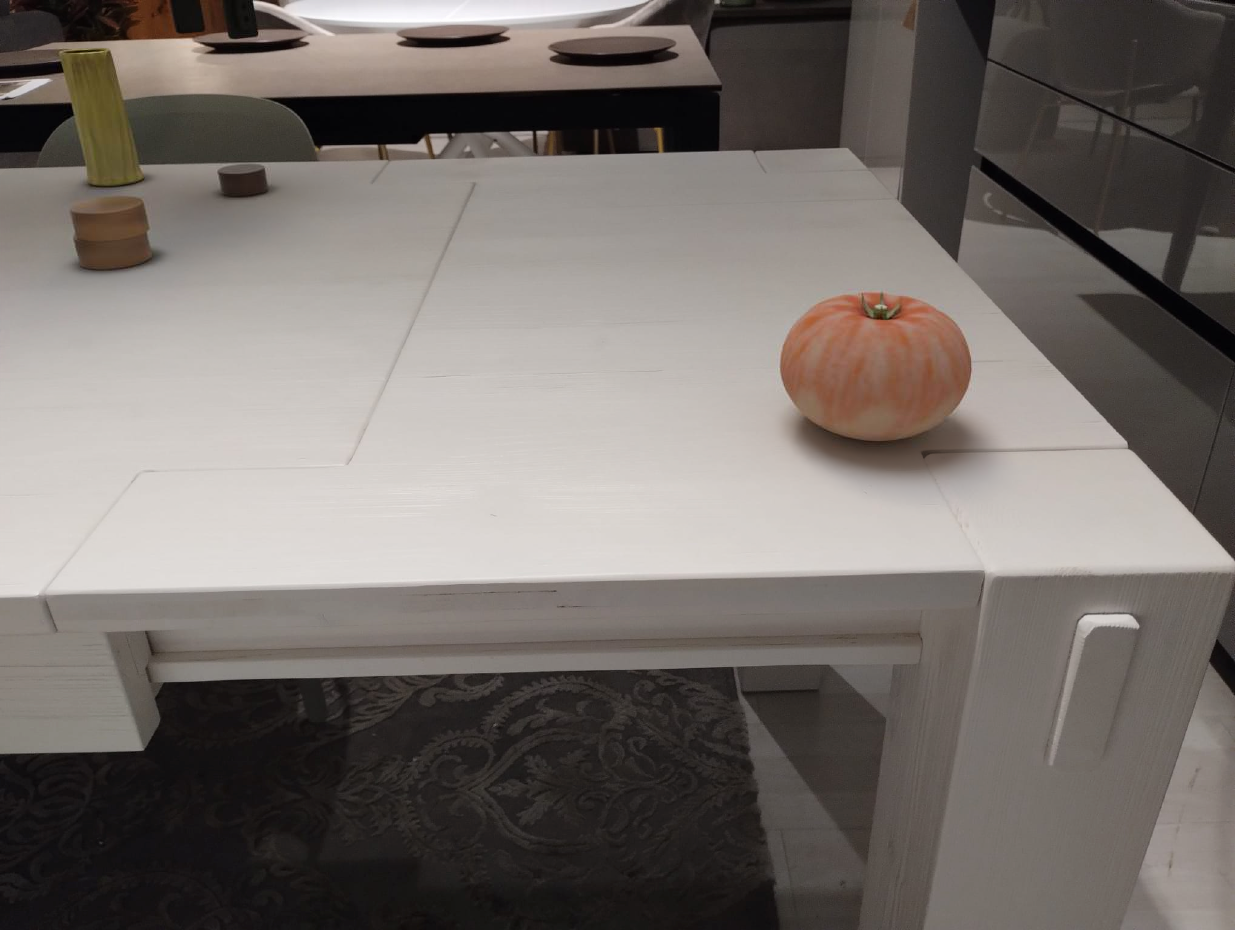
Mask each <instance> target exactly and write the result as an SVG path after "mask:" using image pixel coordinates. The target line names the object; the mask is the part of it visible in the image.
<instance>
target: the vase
mask: <svg viewBox="0 0 1235 930" xmlns="http://www.w3.org/2000/svg"><path fill="white" fill-rule="evenodd" d="M58 54H59V58H60V59H59V60H60V63H61V66H62V70H63V71H62V72H63V75H64V79H65V82H66V86H67V90H68V94H69V97H70V102H71V107H72V112H73V116H74V120H75V124H76V131H77V134H78V138H79V142H80V145H81V149H82V156H83V159H84V163H85V168H86V170H85V171H86V178H87V183H88V184H89V185H91V186H96V187H119V186H125V185H131V184H135V183H138V182H140V181H142V180H143V179H145V174H144V173H143V171H142V169H141V167H140V166H141V165H140V161H139V158H138V152H137V151H138V150H137V147H136V144H135V139H134V136H133V132H132V127H131V124H130V121H129V116H128V113H127V109H126V105H125V102H124V98H123V94H122V90H121V86H120V82H119V78H118V74H117V69H116V66H115V65H116V64H115V61H114V58H113V55H112V50H111V49H110V48H107V47H84V48H82V47H81V48H71V49H63V50H60V51H59V52H58Z"/></svg>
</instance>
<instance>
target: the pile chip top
mask: <svg viewBox="0 0 1235 930" xmlns="http://www.w3.org/2000/svg"><path fill="white" fill-rule="evenodd" d="M68 211H69V214H70V219H71V222H72V225H73V229H74V234H76V237H77V238H78V239H80V240H83V241H89V242H107V241H117V240H123V239H128V238H132V237H136V236H139V235H142V234H144V233H146V232H147V233H148V231H150V224H149V219H148V215H147V210H146V207H145V203H144V200H143V199H142V198H141V197H136V196H129V195H128V196H127V195H123V196H122V195H117V196H116V195H115V196H103V197H96V198H91V199H86V200H83V201H79V202H77V203H74V204H72V205H71V206H69V208H68Z"/></svg>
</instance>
